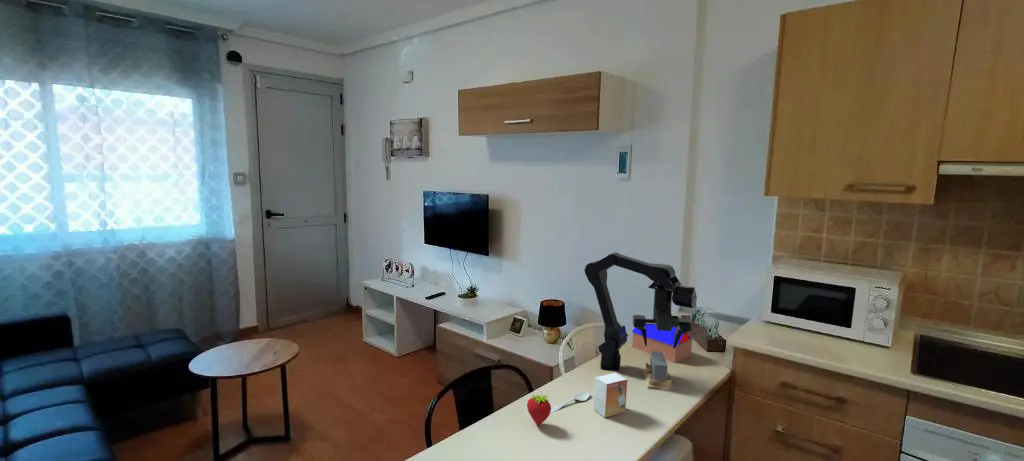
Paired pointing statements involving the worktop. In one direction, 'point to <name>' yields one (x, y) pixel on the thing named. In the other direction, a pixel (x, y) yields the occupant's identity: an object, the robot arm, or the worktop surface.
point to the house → (663, 343)
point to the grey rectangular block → (658, 365)
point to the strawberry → (539, 408)
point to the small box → (610, 394)
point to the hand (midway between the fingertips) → (659, 347)
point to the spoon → (583, 395)
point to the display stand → (656, 380)
